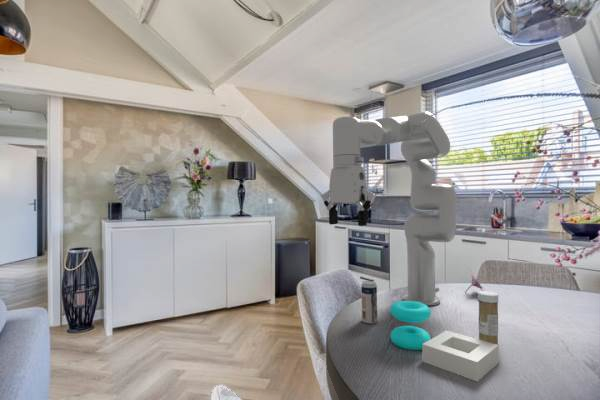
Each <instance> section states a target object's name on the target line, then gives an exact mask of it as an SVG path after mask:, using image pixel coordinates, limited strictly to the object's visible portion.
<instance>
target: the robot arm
mask: <svg viewBox="0 0 600 400" xmlns="http://www.w3.org/2000/svg"><path fill="white" fill-rule="evenodd" d="M431 115H433V113H431V112H429V111H423V112H418V113H412V114H407V115H401V116H400V115H399V116H389V117H388V116H387V117H381V118H378V119H377V118H376V119H358V118H357V117H354V116H341V117H337V118H335V119H334V121H333V122H332V168H331V171H330V177H329V188H328V191H326V192H324V193H323V194H321V198H322V201H323V205H324V206H325V207H326V210H328V221H329V222H328V223H329V225H337V224H338V223H339V217H338V216H339V214H338V212H339V211H338V210H337V208H338V206H339V205H340V204H343V205H344V204H345V205H346V204H352V205H353V204H355V205H356V206H357V208H358V209H359V210H358V211H357V222H358V223H357V225H358V226H359V227H363V226H367V224H368V211H369V210H370V208H371V206H372V205H373V204H374V201H375V199H376V196H377V194H376V193H375V192H373V191H372V190H369V189H368V188H367V180H366V174H365V169H364V167H363V166H361V165H362V163H364V161H365V158H364V157H363V156H361V148H368V147H369V148H370V147H374V146H385V145H392V144H397V143H401V144H400V151H401V155H402V157H403V158H404V159H405V161H406V163H407V165H408V166H409V169H410V173H411V185H410V206H411V208H412V209H413V210H416V211H420V212H421V211H422V212H439V214H422V213H421V214H410V216H408V217H407V218H406V219H405V221H404V224H403V228H404V235H405V239H406V247H407V248H406V251H407V261H406V262H407V293H406V294H405V295H403V301H415V302H420V303H423V304H425V305H427V306H428V307H429V306H437V305H439V304H440V303H441V298H439V296H437V295H436V293H438V292H439V291H440V288H439V287H438V286H436V253H435V249H434V248H433V246H432V245H431V243H430V242H433V243H450V242H452V241H453V240H454V238H455V236H456V229H457V228H456V227H457V213H458V212H457V210H458V197H457V196H458V195H457V192H456V189H455V188H454V187H453V185H450V184H436V183H437V182H436V181H437V172H436V169H435V168H434V167H433V165H432V163H430V161H428V160H430V159H431V160H432V159H441V158H444V157H446V156H447V155H448V154H449V153H450V150H451V143H450V142H451V141H450V139H449V136H448V134H447V133H446V132H445V129H444V128H443V126H442V124H441V123H440V121H439V120H438V119H437V117H435V115H433V116H431ZM429 116H431V117H429ZM428 117H429V118H428ZM427 118H428V119H427ZM425 119H427V120H425ZM424 120H425V121H424ZM422 121H423V122H422Z"/></svg>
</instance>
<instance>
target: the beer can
mask: <svg viewBox="0 0 600 400" xmlns="http://www.w3.org/2000/svg"><path fill="white" fill-rule="evenodd" d="M360 286H361V287H360V288H361V321H362V323H364V324H367V325H368V324H369V325H374V324H376V323H377V322H378V285H377V283H376V281H371V280H369V281H368V280H365V281H362V284H361V285H360Z"/></svg>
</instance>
